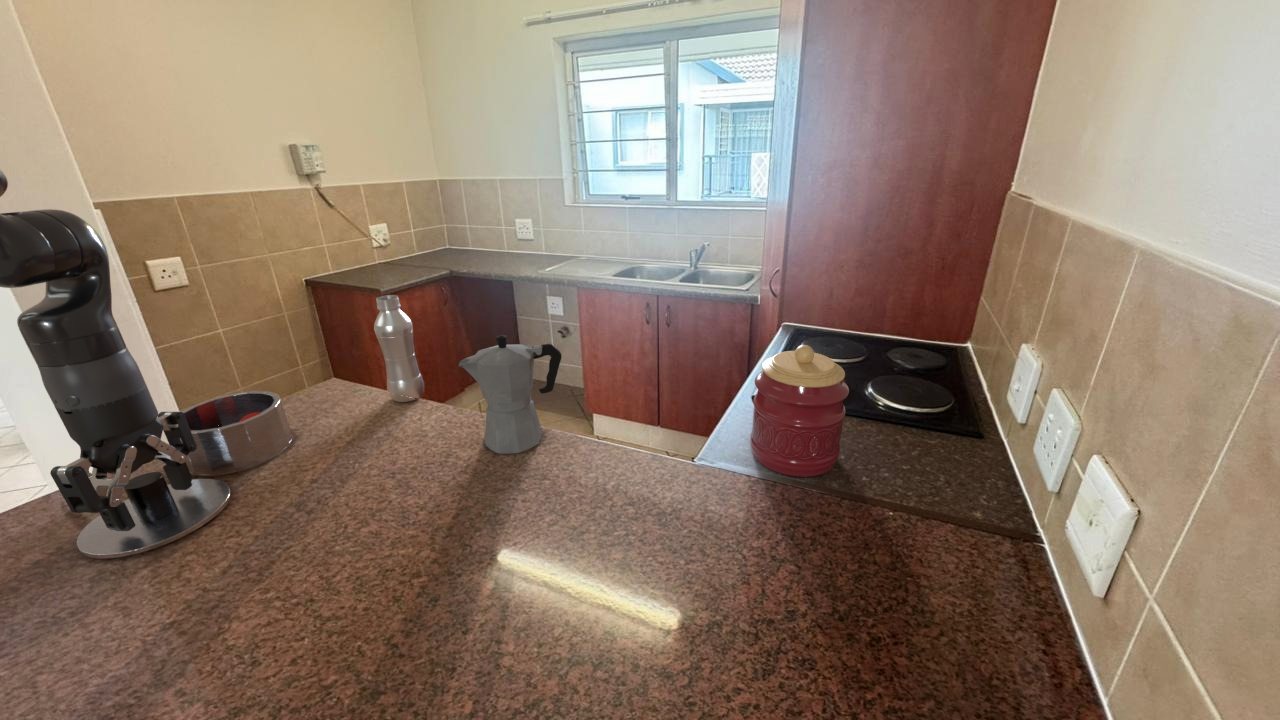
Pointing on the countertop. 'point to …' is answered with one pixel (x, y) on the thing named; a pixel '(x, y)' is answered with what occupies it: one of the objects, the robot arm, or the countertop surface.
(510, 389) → the coffeepot
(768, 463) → the kitchen canister
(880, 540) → the countertop surface
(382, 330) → the plastic bottle
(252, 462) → the saucepan
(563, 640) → the countertop surface
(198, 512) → the pan lid
